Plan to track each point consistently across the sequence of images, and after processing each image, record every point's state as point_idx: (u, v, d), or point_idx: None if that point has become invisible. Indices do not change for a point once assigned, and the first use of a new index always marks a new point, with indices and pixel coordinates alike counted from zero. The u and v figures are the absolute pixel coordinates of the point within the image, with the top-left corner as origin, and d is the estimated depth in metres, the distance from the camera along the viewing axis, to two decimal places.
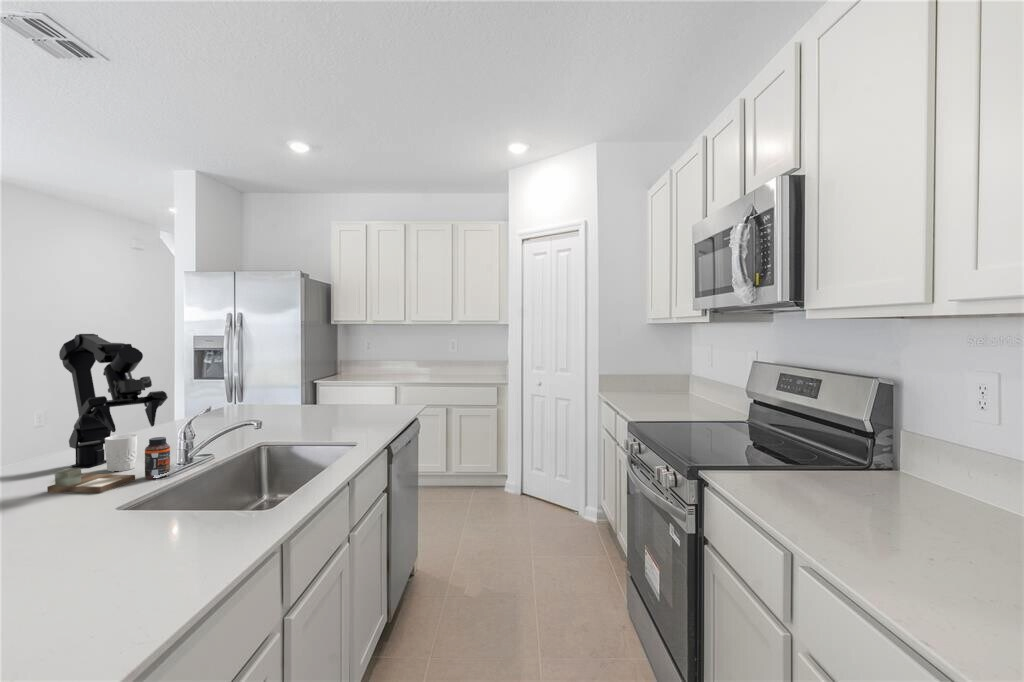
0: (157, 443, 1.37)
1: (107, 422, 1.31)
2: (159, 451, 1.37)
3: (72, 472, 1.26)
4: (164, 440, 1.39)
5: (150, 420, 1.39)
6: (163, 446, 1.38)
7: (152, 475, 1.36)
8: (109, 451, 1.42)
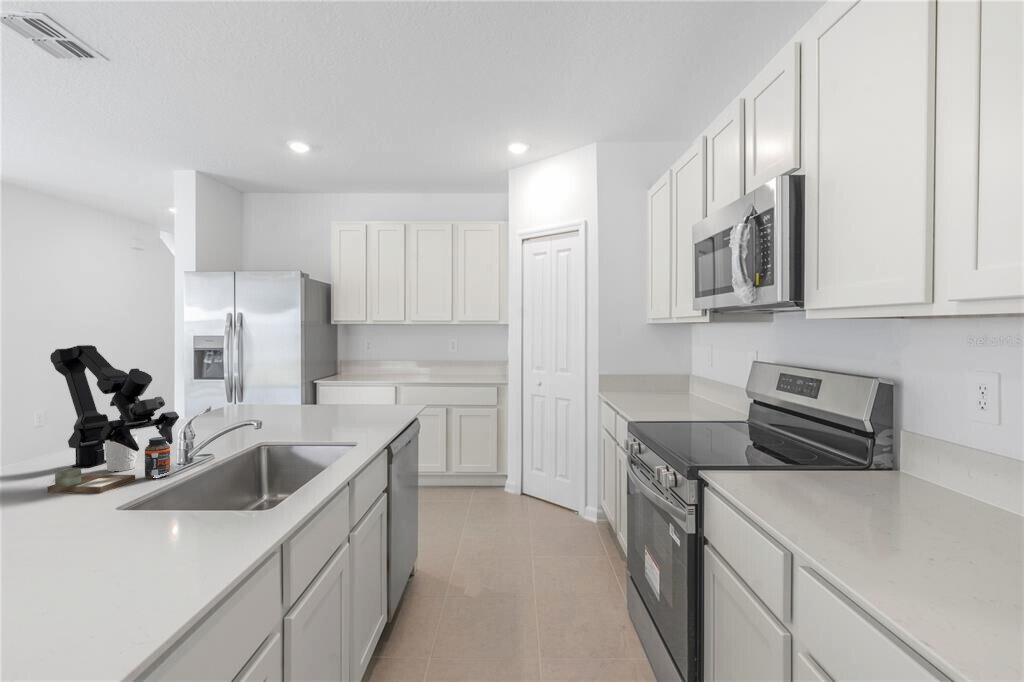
0: (156, 443, 1.37)
1: (129, 442, 1.34)
2: (159, 451, 1.37)
3: (72, 472, 1.26)
4: (164, 440, 1.39)
5: (167, 438, 1.44)
6: (163, 446, 1.38)
7: (152, 475, 1.36)
8: (109, 451, 1.42)
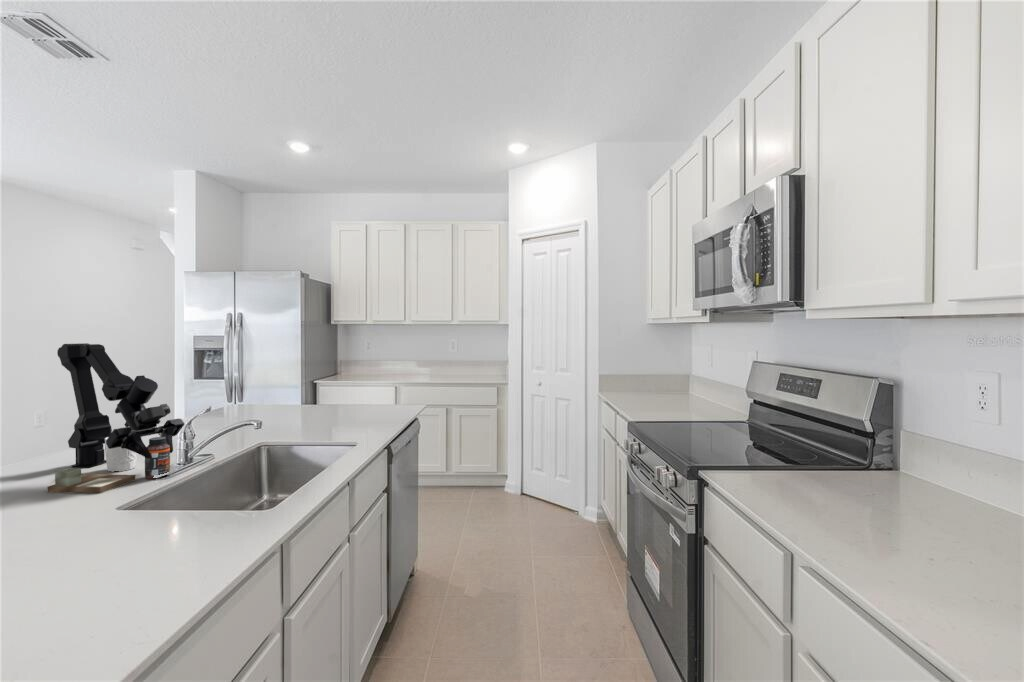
0: (156, 443, 1.37)
1: (140, 449, 1.35)
2: (159, 451, 1.37)
3: (72, 472, 1.26)
4: (164, 440, 1.39)
5: None
6: (163, 446, 1.38)
7: (152, 475, 1.36)
8: (109, 451, 1.42)
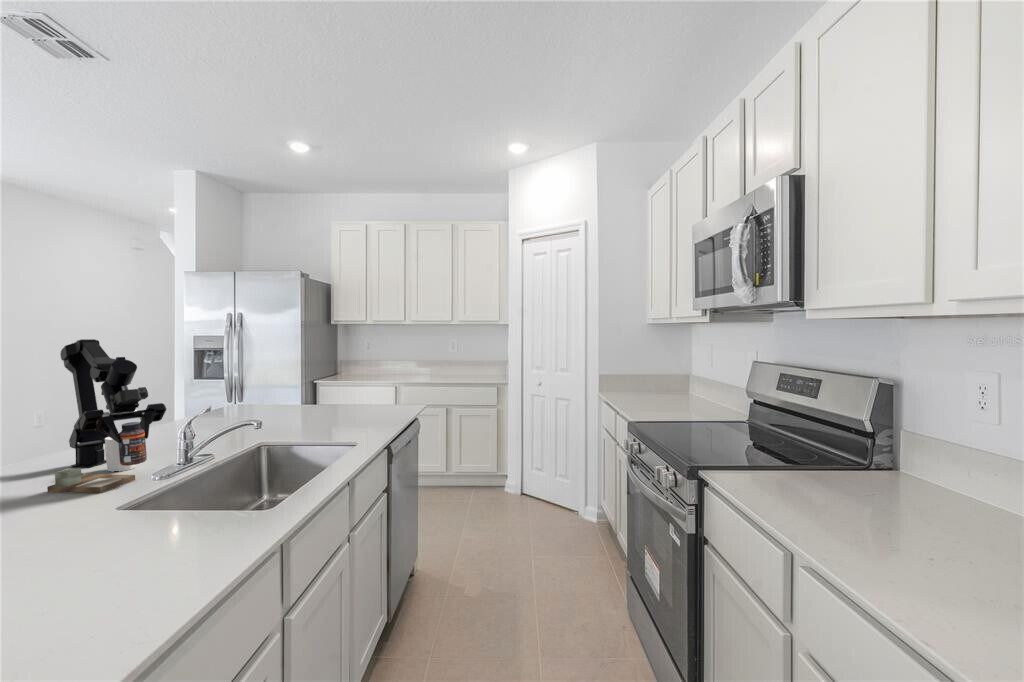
0: (128, 429, 1.31)
1: (112, 433, 1.30)
2: (130, 437, 1.30)
3: (72, 472, 1.26)
4: (136, 425, 1.32)
5: None
6: (134, 432, 1.31)
7: (125, 462, 1.30)
8: (109, 451, 1.42)
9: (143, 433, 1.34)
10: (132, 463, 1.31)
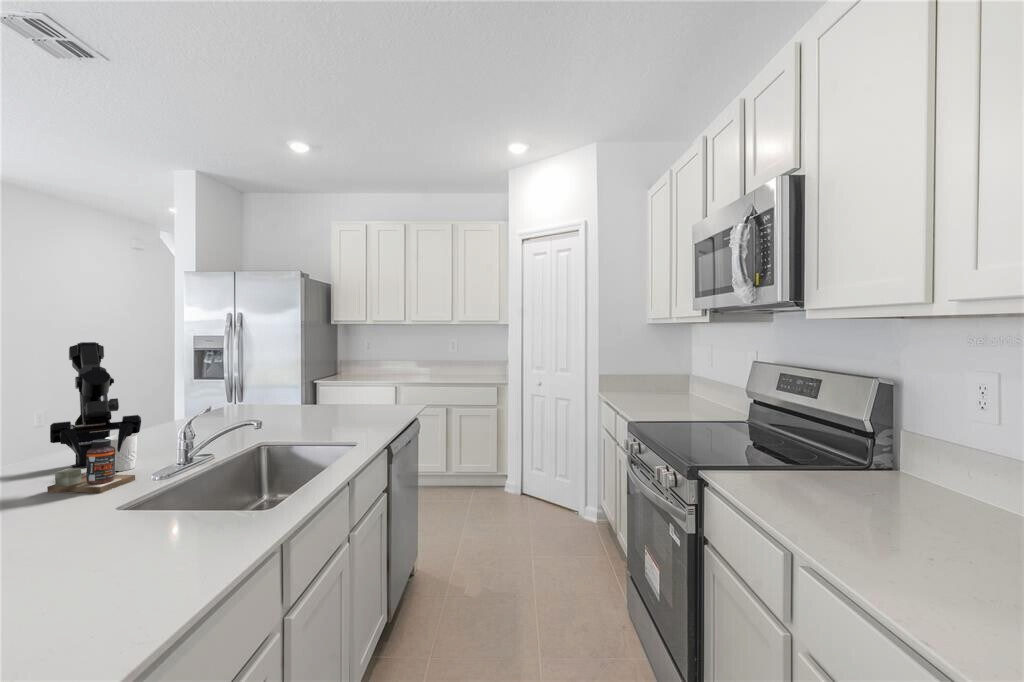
0: (96, 446, 1.26)
1: (73, 447, 1.25)
2: (96, 455, 1.26)
3: (72, 472, 1.26)
4: (105, 443, 1.27)
5: (117, 445, 1.31)
6: (101, 450, 1.26)
7: (89, 480, 1.25)
8: None
9: (112, 451, 1.28)
10: (96, 482, 1.26)
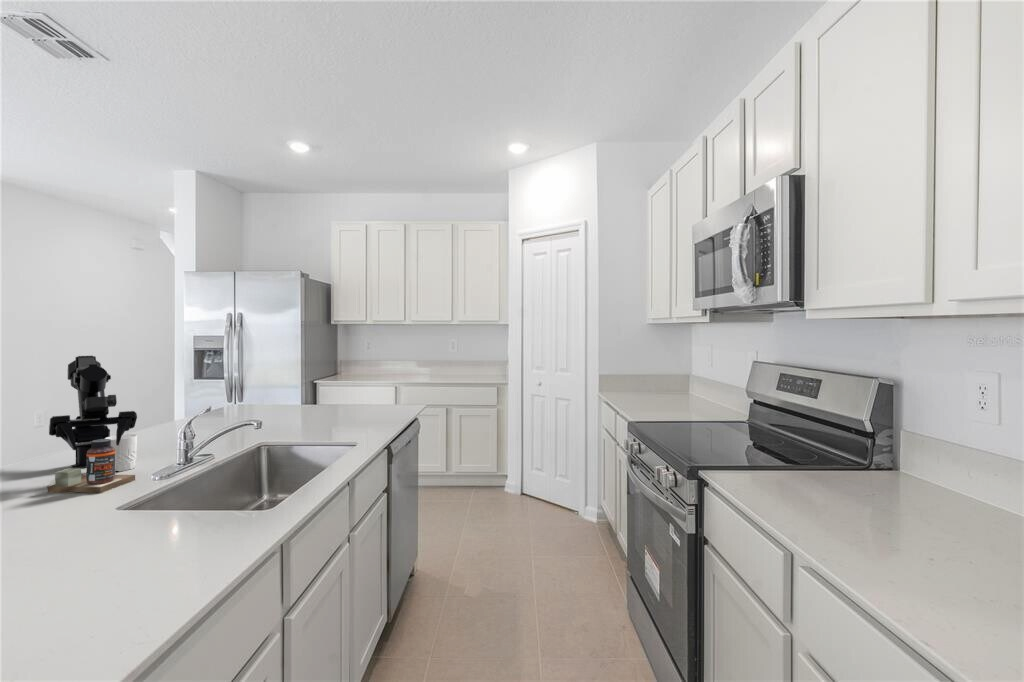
0: (96, 446, 1.26)
1: (69, 440, 1.30)
2: (96, 455, 1.26)
3: (72, 472, 1.26)
4: (105, 443, 1.27)
5: (116, 439, 1.37)
6: (101, 450, 1.26)
7: (89, 480, 1.25)
8: None
9: (112, 451, 1.28)
10: (96, 482, 1.26)
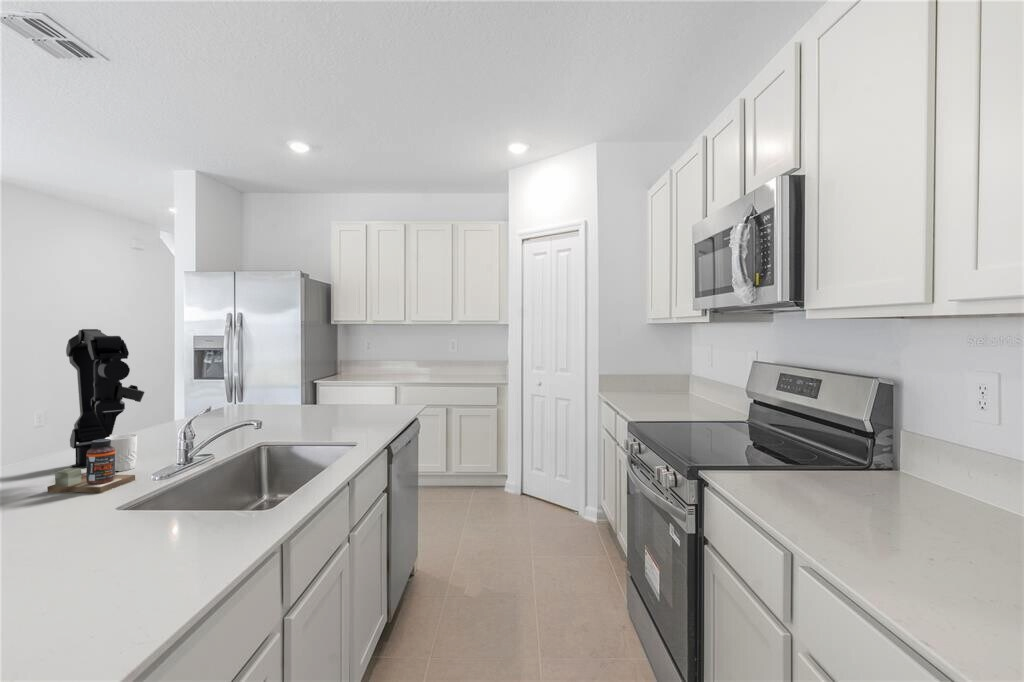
0: (96, 446, 1.26)
1: (110, 425, 1.34)
2: (96, 455, 1.26)
3: (72, 472, 1.26)
4: (105, 443, 1.27)
5: None
6: (101, 450, 1.26)
7: (89, 480, 1.25)
8: None
9: (112, 451, 1.28)
10: (96, 482, 1.26)
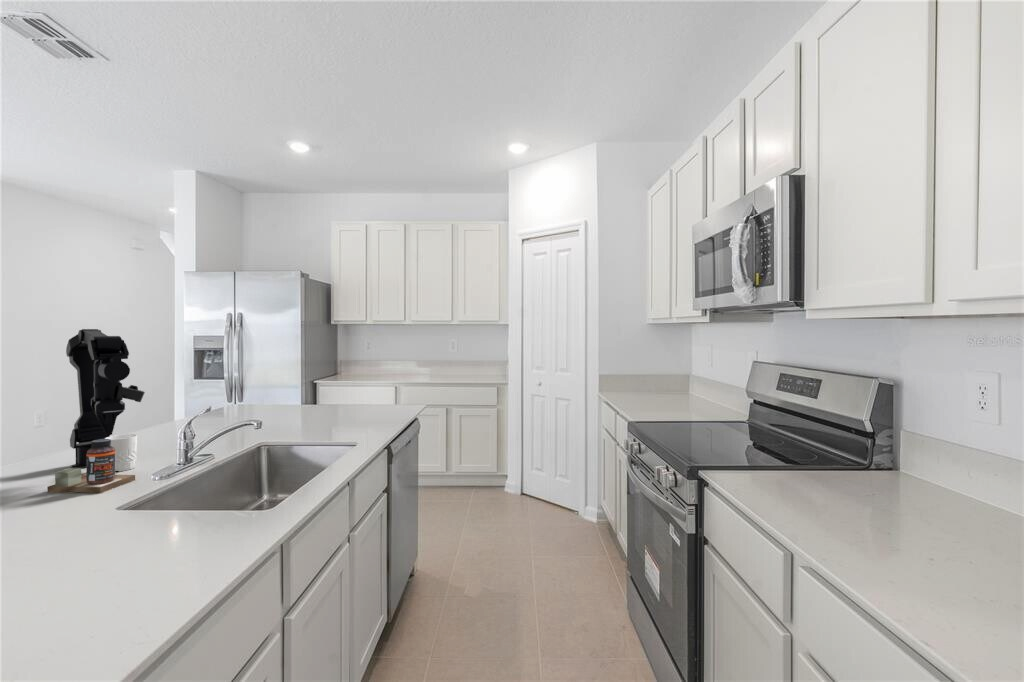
0: (96, 446, 1.26)
1: (110, 425, 1.34)
2: (96, 455, 1.26)
3: (72, 472, 1.26)
4: (105, 443, 1.28)
5: None
6: (101, 450, 1.26)
7: (89, 480, 1.25)
8: None
9: (112, 451, 1.28)
10: (96, 482, 1.26)
